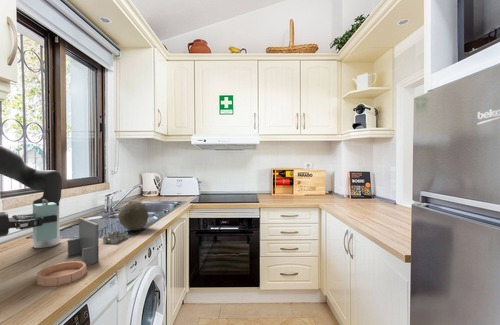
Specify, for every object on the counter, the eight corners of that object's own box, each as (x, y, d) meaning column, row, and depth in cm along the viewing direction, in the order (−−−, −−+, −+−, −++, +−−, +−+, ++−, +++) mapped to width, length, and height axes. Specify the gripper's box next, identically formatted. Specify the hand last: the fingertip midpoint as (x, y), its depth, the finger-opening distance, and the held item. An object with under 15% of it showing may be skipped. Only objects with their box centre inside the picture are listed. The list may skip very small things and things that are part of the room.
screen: (83, 266, 91) (83, 227, 91) (67, 255, 102) (67, 220, 102) (98, 262, 95) (98, 224, 95) (82, 251, 106) (81, 217, 106)
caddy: (36, 241, 86) (36, 201, 86) (33, 238, 89) (33, 199, 89) (56, 238, 90) (56, 199, 90) (52, 235, 93) (52, 198, 93)
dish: (51, 269, 88) (51, 262, 88) (92, 267, 90) (92, 260, 90) (27, 287, 76) (27, 279, 76) (74, 283, 78) (74, 275, 78)
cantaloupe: (137, 226, 147) (137, 200, 147) (153, 229, 140) (153, 202, 140) (113, 231, 135) (113, 203, 135) (129, 236, 128) (129, 205, 128)
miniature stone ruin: (114, 245, 115) (114, 236, 115) (99, 244, 117) (99, 235, 117) (129, 237, 126) (129, 229, 126) (115, 237, 127) (115, 228, 127)
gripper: (-11, 217, 74) (60, 208, 87) (-17, 211, 83) (48, 204, 96) (-11, 243, 74) (60, 231, 87) (-17, 234, 83) (48, 224, 96)
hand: (54, 217), depth 91 cm, fingers closed on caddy, 5 cm apart
